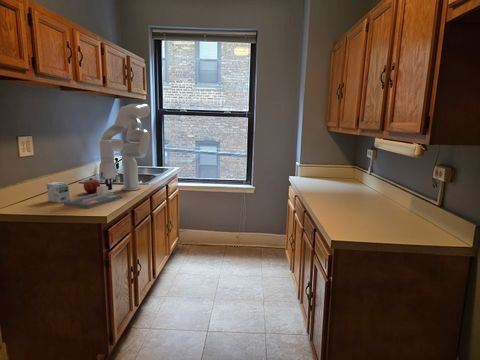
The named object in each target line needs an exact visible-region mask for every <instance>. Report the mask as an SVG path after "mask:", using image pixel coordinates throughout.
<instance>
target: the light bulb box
mask: <svg viewBox="0 0 480 360" xmlns="http://www.w3.org/2000/svg"><path fill="white" fill-rule="evenodd" d="M46 192H47V200H48V202H52V203H58V204H62V203H64V202H65V201H68V200H71V198H70V188H69V183H68V182H59V181H58V182H57V181H54V182H48V183H46Z"/></svg>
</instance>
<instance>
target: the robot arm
mask: <svg viewBox="0 0 480 360" xmlns="http://www.w3.org/2000/svg"><path fill="white" fill-rule="evenodd" d="M150 112H151V108H150V106H149V105H148V104H146V103H130V104H127V105H123V106H121V107H120V108H119V109H118V112H117V116H116V118H115V121H114V123H113V124H112V125H111V126H109V127H108V128H107V129H106V130H105V131H104V132H103V134H102V135H101V139H100V141H99V152H100V153H99V155H100V156H99V157H100V163H99V168H98V177H99V180H101V182H103V183H104V184H105V186H108V191H112V190H113V183H114V180H116V177H117V167H116V163H115V157H114V155H115V154H114V153H115V152H120V156H121V160H122V176H123V186H122V187H121V190H123V191H127V192H128V191H138V190H141V189H142V187H141V185H142V184H143V181H142V180H141V181H139V171H138V162H137V160H136V159H137V158H139V159H140V158H141V159H142V158H144V157H146V155H147V152H148V149H149V144H150V141H151V140H150V139H151V137H150V133H149V131H148V130H146V129H142V127H143V124H142V122H141V120H140V119H143V118H147V117H148V116H149V115H150V114H151V113H150ZM126 131H127V132H126ZM124 132H126V135H125V136H126V137H125V140H126V141H127V143H125V142H124V141H123V140H121V139H117V138H113V137H115V136H117V135H119V134H121V133H124Z"/></svg>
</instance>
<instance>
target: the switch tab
mask: <svg viewBox="0 0 480 360" xmlns="http://www.w3.org/2000/svg"><path fill="white" fill-rule="evenodd" d="M96 193H97V196H100V195H104V194H107V193H110V192H109V190H108V186H106V185H100V186H99V187H97V192H96Z"/></svg>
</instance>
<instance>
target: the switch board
mask: <svg viewBox="0 0 480 360" xmlns="http://www.w3.org/2000/svg"><path fill="white" fill-rule="evenodd" d="M120 199H123V195H122V194H118V193H114V192H113V191H112V192H109V193H107V194H104V195H100V196H97V192H95V193H90V194H87V195H84V196H83V195H82V196H80V197H76V198H72V199H70V200H68V201H65V202H63V206H67V207H75V208H79V209H80V208H83V209H90V208H95V207H98V206H101V205H104V204H107V203H110V202H114V201H117V200H120Z"/></svg>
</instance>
